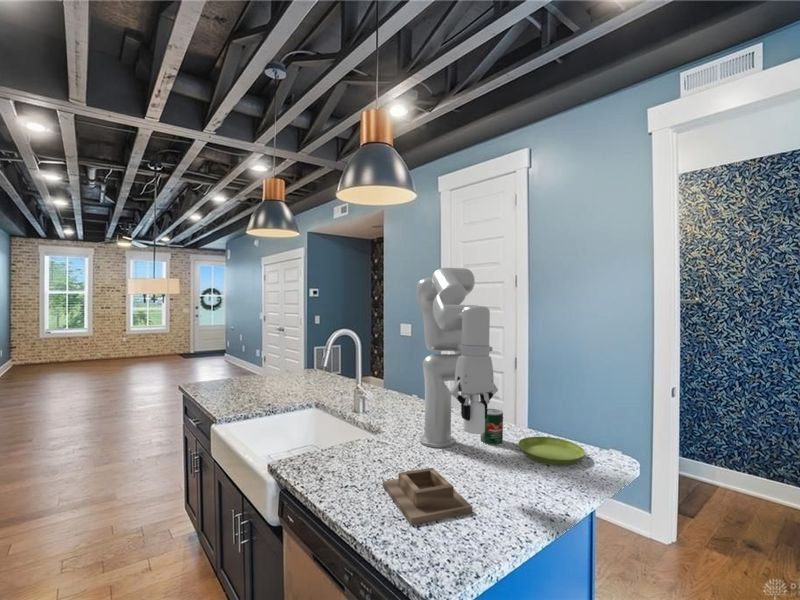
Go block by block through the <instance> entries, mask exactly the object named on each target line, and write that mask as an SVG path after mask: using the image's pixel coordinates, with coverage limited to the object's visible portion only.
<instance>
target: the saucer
mask: <svg viewBox="0 0 800 600" xmlns="http://www.w3.org/2000/svg"><path fill="white" fill-rule="evenodd" d="M518 446H519V449H520V451H521V452H522V453H523V454H524V455H525V456H526V457H528V458H529V459H531V460H532V461H534V462H537V463H540V464H544V465H550V466H557V467H558V466H562V467H564V466H565V465H566V466H571V465H574V464H576V463H578V462H579V461H581V459H582V458H583V457H585V454H586V450H585V449H584V448H583V447H581V446H580V445H578V444H577V443H575V442H572V441H569V440H566V439H562V438H558V437H553V436H528V437H524V438H522V439H519V441H518Z"/></svg>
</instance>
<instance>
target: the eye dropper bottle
mask: <svg viewBox="0 0 800 600" xmlns="http://www.w3.org/2000/svg"><path fill="white" fill-rule="evenodd" d="M479 400H480V396H479V394H471V395H470V399H469V403H468V405H469V406H470V420H469V421H467V420H465V419H463V431H464V432H466V433H468V434H473V435H481V434H483V433H484V432H485V406H484V404H483V403H481V402H479Z"/></svg>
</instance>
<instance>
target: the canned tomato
mask: <svg viewBox="0 0 800 600" xmlns="http://www.w3.org/2000/svg"><path fill="white" fill-rule="evenodd" d="M503 429H504V411H503V410H500V409H497V408H487V418H486V419H485V432H484V433H483V434H480V442H481V443H482V442H483V443H482V444H484V443H485V444H484V445H487V444H488V446H500V444H501V445H503V443H504V442H503V435H504V430H503Z"/></svg>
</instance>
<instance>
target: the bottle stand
mask: <svg viewBox="0 0 800 600" xmlns="http://www.w3.org/2000/svg"><path fill="white" fill-rule="evenodd" d="M397 477H398V478H396V479H389V480H383V481H382V488H383V489H384V490H385V492H386V493H387V496H389V497H390V498H391V500H392V502H393V503H394V504H395V505H396V507H397V509H399V511H400V513H402V515H403V517H404V518H405V519H406V520H407V522H408V523H409V525H410V526H413V525H418V524H423V523H429V522H432V521H433V522H434V521H438V520H439V521H440V520H443V519H448V518H453V517H458V516H462V515H467V514H472V513H473V505H471V503H470V502H468V500H466V499H465V498H464V497H463V496H462V495H460V494H459V493H458V492H457V491H456V490H455V488H454V486H453V484H451V483H450V481H448V480H447V479H446V478H445V477H443V476H442V475H441V474H440V473H439V472H438V471H437V470H436V469H435V468H433V467H428V468H421V469H415V470H409V471H408V470H407V471H402V472H398V476H397Z"/></svg>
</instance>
